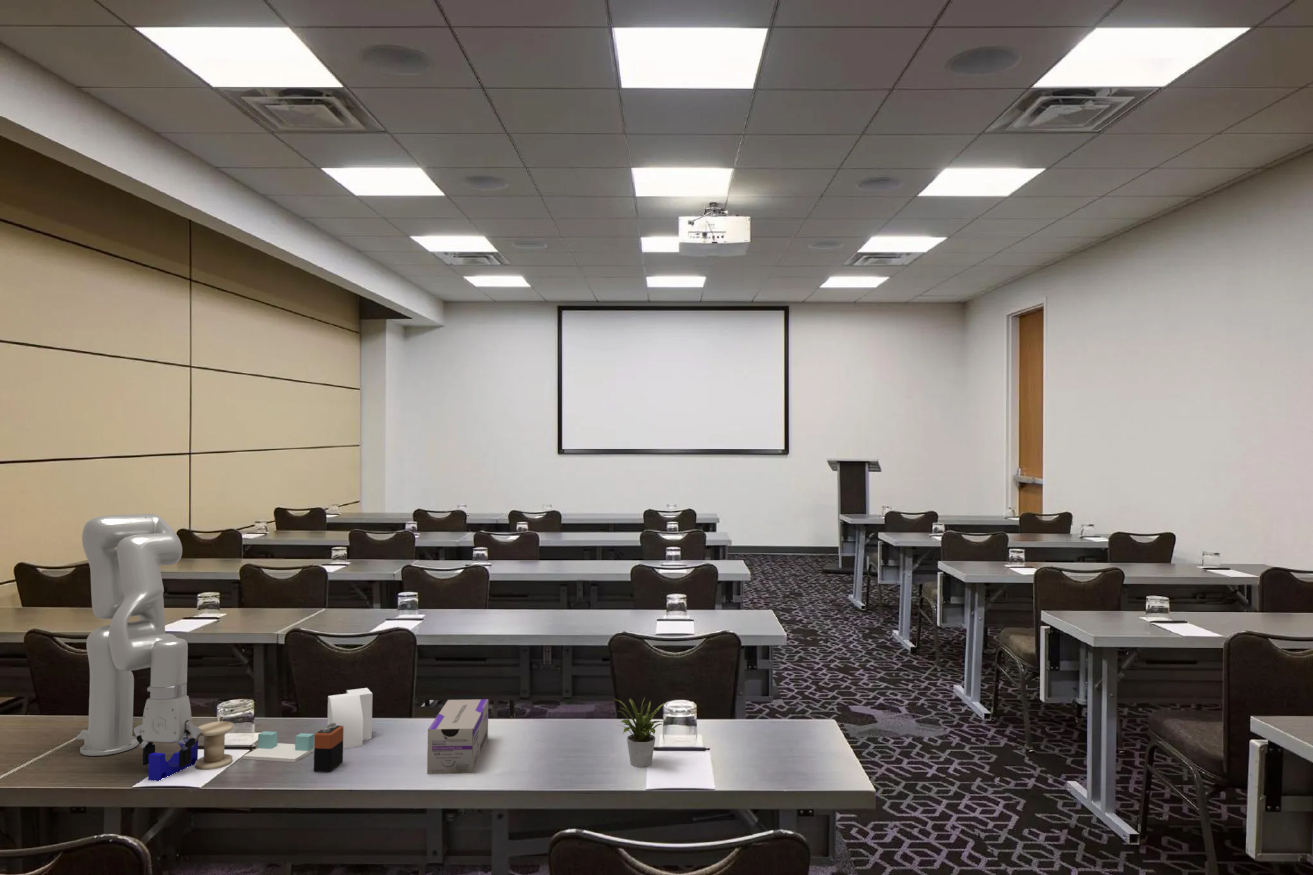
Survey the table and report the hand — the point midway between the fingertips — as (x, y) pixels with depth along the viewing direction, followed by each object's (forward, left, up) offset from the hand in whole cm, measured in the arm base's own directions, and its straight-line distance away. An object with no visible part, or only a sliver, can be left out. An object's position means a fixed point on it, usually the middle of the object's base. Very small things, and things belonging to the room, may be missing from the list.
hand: (166, 764), depth 193 cm
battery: (+37, +8, -2) cm, 38 cm away
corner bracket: (+32, +27, -2) cm, 42 cm away
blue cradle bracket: (+1, 0, -2) cm, 2 cm away
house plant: (+110, +22, -2) cm, 112 cm away
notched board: (+20, +15, -2) cm, 25 cm away
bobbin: (+8, +6, -2) cm, 10 cm away
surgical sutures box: (+65, +21, -2) cm, 68 cm away
